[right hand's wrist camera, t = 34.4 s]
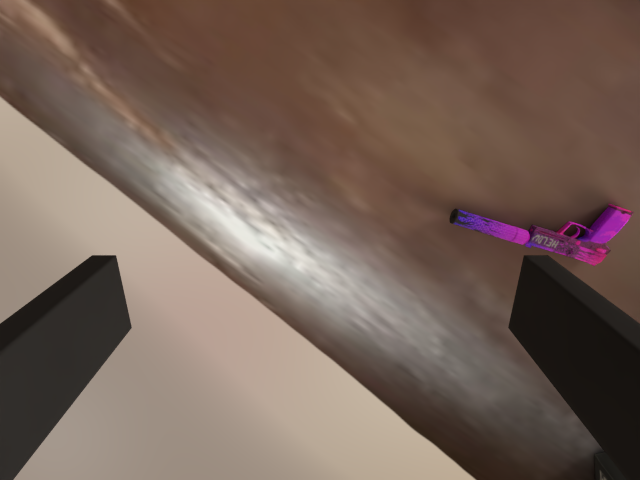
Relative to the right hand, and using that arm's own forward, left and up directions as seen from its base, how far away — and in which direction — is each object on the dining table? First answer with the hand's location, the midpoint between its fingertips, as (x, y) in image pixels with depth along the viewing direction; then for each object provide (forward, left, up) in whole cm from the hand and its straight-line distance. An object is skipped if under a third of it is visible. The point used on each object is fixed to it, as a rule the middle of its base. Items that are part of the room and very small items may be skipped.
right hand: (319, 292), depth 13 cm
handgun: (+18, -23, -34) cm, 45 cm away
